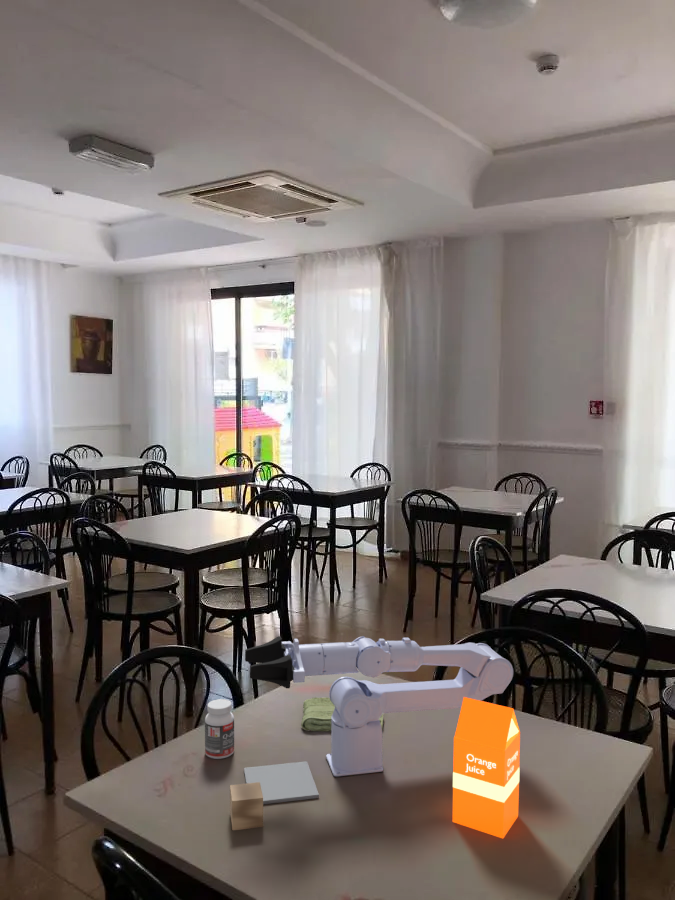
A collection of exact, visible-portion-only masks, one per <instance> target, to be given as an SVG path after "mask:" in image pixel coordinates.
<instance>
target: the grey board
mask: <svg viewBox="0 0 675 900" xmlns="http://www.w3.org/2000/svg"><path fill="white" fill-rule="evenodd" d="M243 773H244V779H245V784H246V783H256V782H260V786H261V790H262V795H263V805H268V804H277V803H285V802H293V801H294V802H296V801H303V800H312V799H320V794H319V792H318V788H317V785H316V782H315V779H314V777H313V774H312V772H311V769H310V765H309V763H308V761H296V762H287V763H278V764H276V763H275V764H268V765H267V764H266V765H258V766H247V767H243Z"/></svg>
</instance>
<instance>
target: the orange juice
mask: <svg viewBox="0 0 675 900" xmlns="http://www.w3.org/2000/svg"><path fill="white" fill-rule="evenodd" d="M455 729H456V730H455V732H454V736H453V755H452V756H453V759H452V760H453V761H452V762H453V763H452V764H453V765H452V766H453V769H452V770H453V771H452V820H451V821H452V823H455V824H457V825H460V826H464V827H467V828H469V829H472V830H476V831H479V832H482V833H485V834H488V835H492V836H493V837H497V838H500V839H504V838H505V837H506V835H507V834H508V832H509V830H510V829H511V828H512V826H513V825H514V823H515V822H516V820H517V819H518V817H519V803H520V802H519V801H520V799H519V798H520V773H521V772H520V770H521V769H520V768H521V767H520V761H521V760H520V753H521V752H520V749H521V748H520V747H521V731H520V727H519V724H518V720H517V716H516V714H515V709H514V707H513V708H512V707H509V706H504V705H499V704H496V703H493V702H492V703H491V702H489V701H488V702H487V701H484V700H482V701H479V700H475V699H471V698H466V697H464V698H463V703H462V707H461V708H460V712H459V716H458V721H457V725H456V728H455Z"/></svg>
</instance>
